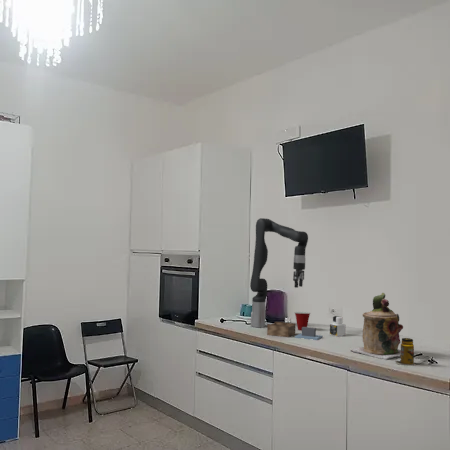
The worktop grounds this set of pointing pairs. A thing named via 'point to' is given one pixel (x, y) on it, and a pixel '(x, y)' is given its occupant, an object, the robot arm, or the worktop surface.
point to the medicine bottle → (337, 326)
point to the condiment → (407, 352)
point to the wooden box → (281, 329)
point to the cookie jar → (380, 331)
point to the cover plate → (308, 334)
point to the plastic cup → (302, 319)
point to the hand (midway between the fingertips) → (298, 287)
